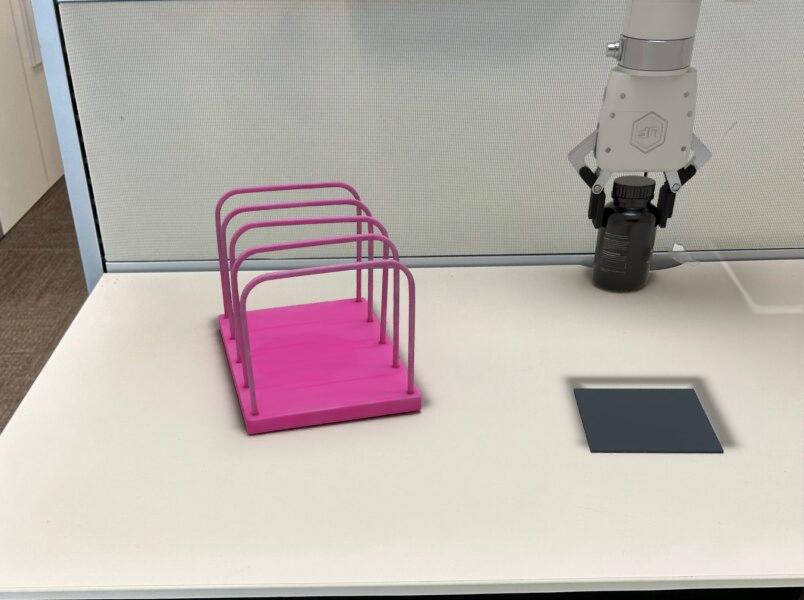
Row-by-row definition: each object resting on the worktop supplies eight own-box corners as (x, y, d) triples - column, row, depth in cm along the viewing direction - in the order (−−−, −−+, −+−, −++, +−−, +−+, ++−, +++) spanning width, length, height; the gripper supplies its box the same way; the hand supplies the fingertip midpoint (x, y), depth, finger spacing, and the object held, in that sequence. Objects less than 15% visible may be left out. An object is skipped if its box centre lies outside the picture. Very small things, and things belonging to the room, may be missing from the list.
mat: (693, 390, 94) (693, 388, 94) (723, 452, 85) (723, 451, 84) (573, 390, 94) (573, 388, 94) (590, 452, 85) (591, 450, 85)
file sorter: (365, 311, 110) (362, 172, 100) (422, 412, 91) (426, 253, 81) (219, 328, 107) (201, 187, 97) (248, 436, 89) (229, 275, 79)
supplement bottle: (658, 287, 113) (677, 184, 106) (610, 297, 112) (627, 193, 104) (626, 268, 118) (642, 168, 111) (580, 277, 117) (593, 176, 109)
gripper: (577, 63, 97) (558, 236, 108) (747, 59, 96) (709, 234, 107) (568, 49, 102) (551, 215, 114) (728, 45, 101) (694, 213, 113)
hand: (628, 223), depth 110 cm, fingers closed on supplement bottle, 6 cm apart
